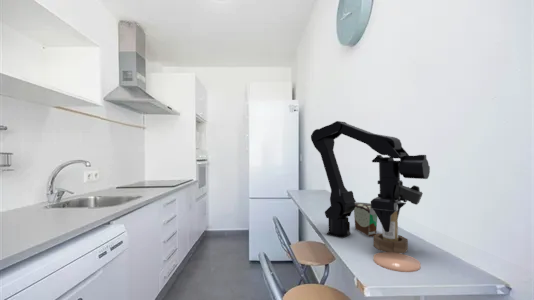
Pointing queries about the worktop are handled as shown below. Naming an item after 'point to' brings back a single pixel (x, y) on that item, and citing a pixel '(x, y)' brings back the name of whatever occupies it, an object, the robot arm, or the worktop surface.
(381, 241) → the ring
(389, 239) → the sprinkles bottle
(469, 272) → the worktop surface
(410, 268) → the peach round disc
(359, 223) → the food container
